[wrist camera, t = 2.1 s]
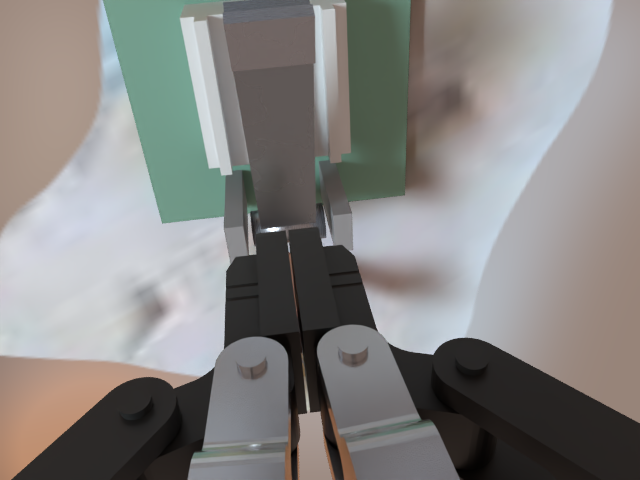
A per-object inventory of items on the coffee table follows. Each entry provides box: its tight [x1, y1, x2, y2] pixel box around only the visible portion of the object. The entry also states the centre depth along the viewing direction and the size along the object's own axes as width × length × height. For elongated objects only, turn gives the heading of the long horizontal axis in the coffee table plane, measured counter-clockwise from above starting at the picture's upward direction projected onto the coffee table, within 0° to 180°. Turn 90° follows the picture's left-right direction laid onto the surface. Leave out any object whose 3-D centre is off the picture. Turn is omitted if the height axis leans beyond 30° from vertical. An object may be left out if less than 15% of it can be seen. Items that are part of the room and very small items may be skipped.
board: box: [103, 0, 411, 263], centre depth 29 cm, size 18×16×8 cm
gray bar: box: [223, 0, 326, 246], centre depth 25 cm, size 16×4×2 cm, turn 3°
